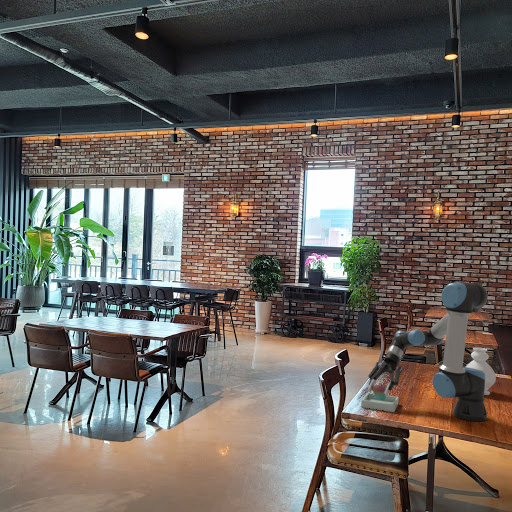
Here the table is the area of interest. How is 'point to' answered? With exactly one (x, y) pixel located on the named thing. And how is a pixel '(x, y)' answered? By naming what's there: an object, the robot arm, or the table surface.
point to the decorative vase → (483, 367)
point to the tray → (379, 403)
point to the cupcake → (379, 391)
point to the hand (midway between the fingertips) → (377, 392)
